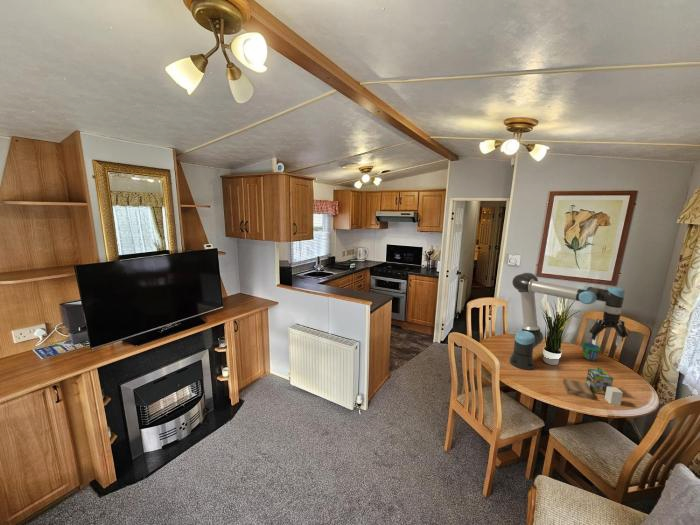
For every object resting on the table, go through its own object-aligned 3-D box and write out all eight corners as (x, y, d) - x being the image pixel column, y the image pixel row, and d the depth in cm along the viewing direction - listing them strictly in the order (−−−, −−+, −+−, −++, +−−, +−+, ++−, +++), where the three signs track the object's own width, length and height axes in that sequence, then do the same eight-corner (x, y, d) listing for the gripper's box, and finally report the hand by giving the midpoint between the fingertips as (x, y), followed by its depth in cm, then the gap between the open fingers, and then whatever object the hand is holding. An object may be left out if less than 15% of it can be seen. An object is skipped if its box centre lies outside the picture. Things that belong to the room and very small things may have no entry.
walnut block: (566, 394, 174) (567, 388, 173) (562, 384, 184) (563, 378, 184) (592, 400, 169) (593, 394, 168) (586, 389, 179) (587, 383, 178)
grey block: (610, 404, 165) (612, 391, 163) (604, 398, 170) (606, 386, 168) (620, 405, 164) (622, 392, 162) (614, 399, 169) (616, 387, 167)
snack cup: (591, 363, 210) (593, 350, 208) (575, 357, 219) (577, 344, 218) (603, 359, 216) (605, 347, 214) (587, 353, 225) (589, 341, 224)
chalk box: (610, 395, 173) (615, 373, 170) (592, 392, 175) (596, 370, 173) (602, 386, 181) (606, 365, 179) (585, 384, 184) (588, 362, 181)
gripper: (594, 313, 174) (588, 346, 177) (640, 316, 171) (633, 349, 174) (585, 309, 181) (580, 341, 185) (629, 311, 178) (623, 343, 182)
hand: (606, 345), depth 180 cm, fingers open, 13 cm apart
